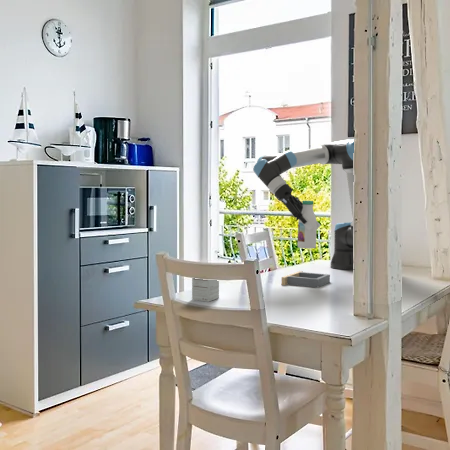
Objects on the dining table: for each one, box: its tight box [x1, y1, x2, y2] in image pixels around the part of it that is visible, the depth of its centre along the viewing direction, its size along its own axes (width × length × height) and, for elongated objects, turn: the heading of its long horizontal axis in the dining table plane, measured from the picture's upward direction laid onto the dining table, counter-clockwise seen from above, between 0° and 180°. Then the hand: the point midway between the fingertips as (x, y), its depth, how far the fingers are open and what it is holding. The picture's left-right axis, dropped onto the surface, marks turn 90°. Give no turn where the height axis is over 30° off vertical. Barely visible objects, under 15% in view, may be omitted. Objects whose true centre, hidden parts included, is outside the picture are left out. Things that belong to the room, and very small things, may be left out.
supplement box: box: [191, 277, 220, 303], centre depth 201 cm, size 7×7×13 cm
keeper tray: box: [280, 270, 331, 288], centre depth 238 cm, size 20×15×3 cm
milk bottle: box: [297, 200, 317, 249], centre depth 236 cm, size 8×8×20 cm
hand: (314, 228), depth 234 cm, fingers closed on milk bottle, 7 cm apart
